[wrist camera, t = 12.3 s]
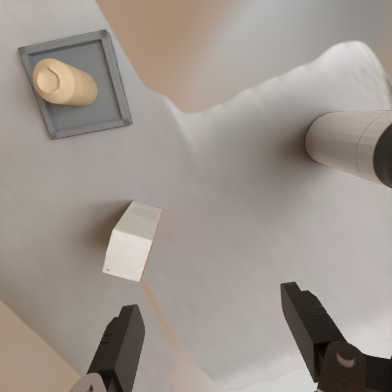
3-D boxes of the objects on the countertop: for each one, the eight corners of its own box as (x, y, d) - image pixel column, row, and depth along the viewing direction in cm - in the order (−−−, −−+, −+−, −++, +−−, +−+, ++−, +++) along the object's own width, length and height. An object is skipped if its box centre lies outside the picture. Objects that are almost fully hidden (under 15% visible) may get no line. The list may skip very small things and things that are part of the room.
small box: (152, 242, 50) (139, 283, 37) (123, 233, 49) (100, 273, 37) (163, 208, 47) (153, 240, 35) (132, 199, 47) (111, 228, 34)
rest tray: (109, 34, 37) (105, 29, 36) (132, 123, 42) (130, 124, 40) (26, 51, 38) (17, 48, 36) (57, 138, 42) (51, 139, 41)
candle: (67, 65, 38) (26, 49, 29) (100, 76, 39) (71, 64, 29) (63, 100, 40) (23, 95, 30) (95, 110, 41) (65, 108, 31)
